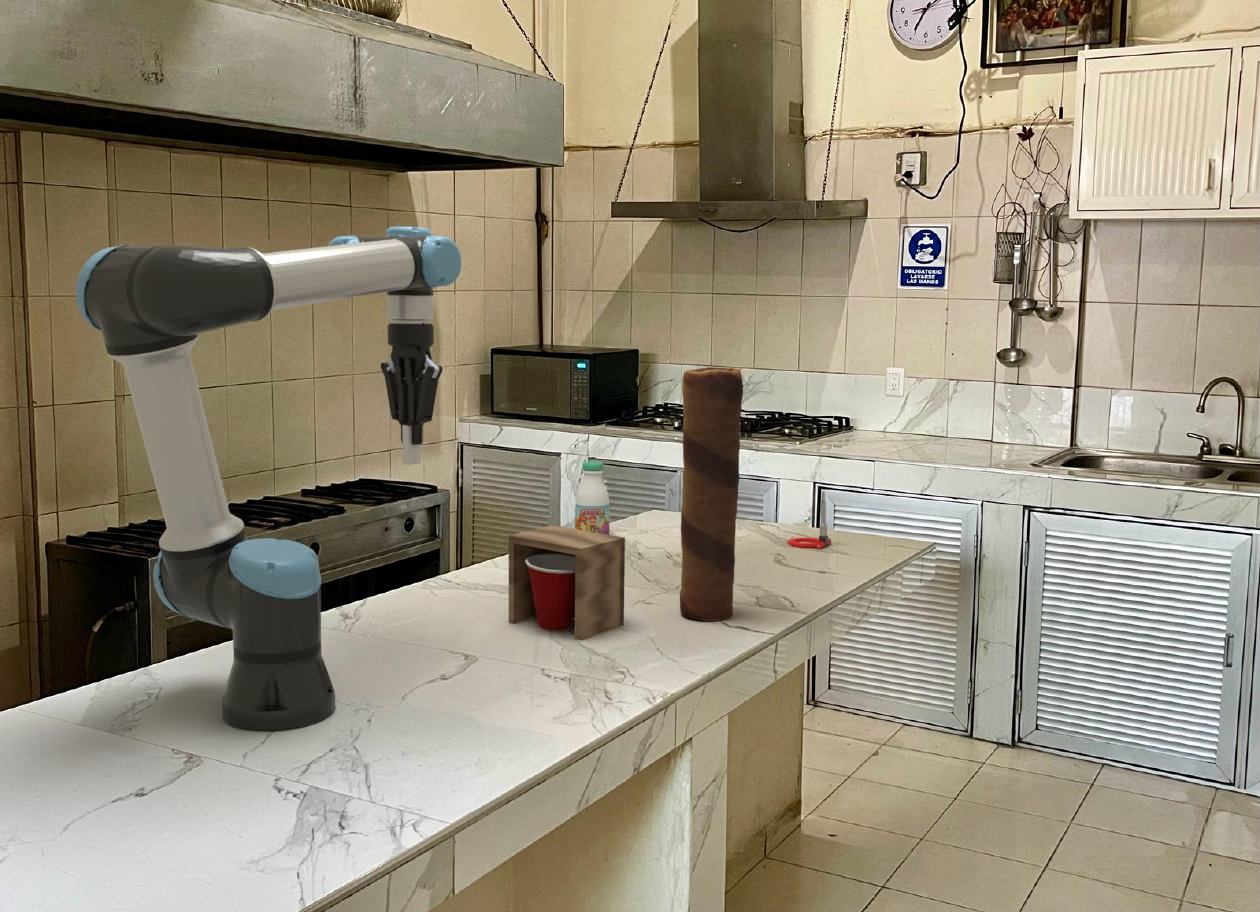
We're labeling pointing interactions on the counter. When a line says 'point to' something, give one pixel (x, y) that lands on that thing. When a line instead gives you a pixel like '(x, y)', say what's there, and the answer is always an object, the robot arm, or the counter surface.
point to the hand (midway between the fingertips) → (411, 463)
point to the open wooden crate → (593, 575)
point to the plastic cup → (553, 589)
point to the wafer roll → (709, 490)
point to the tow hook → (823, 537)
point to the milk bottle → (592, 501)
